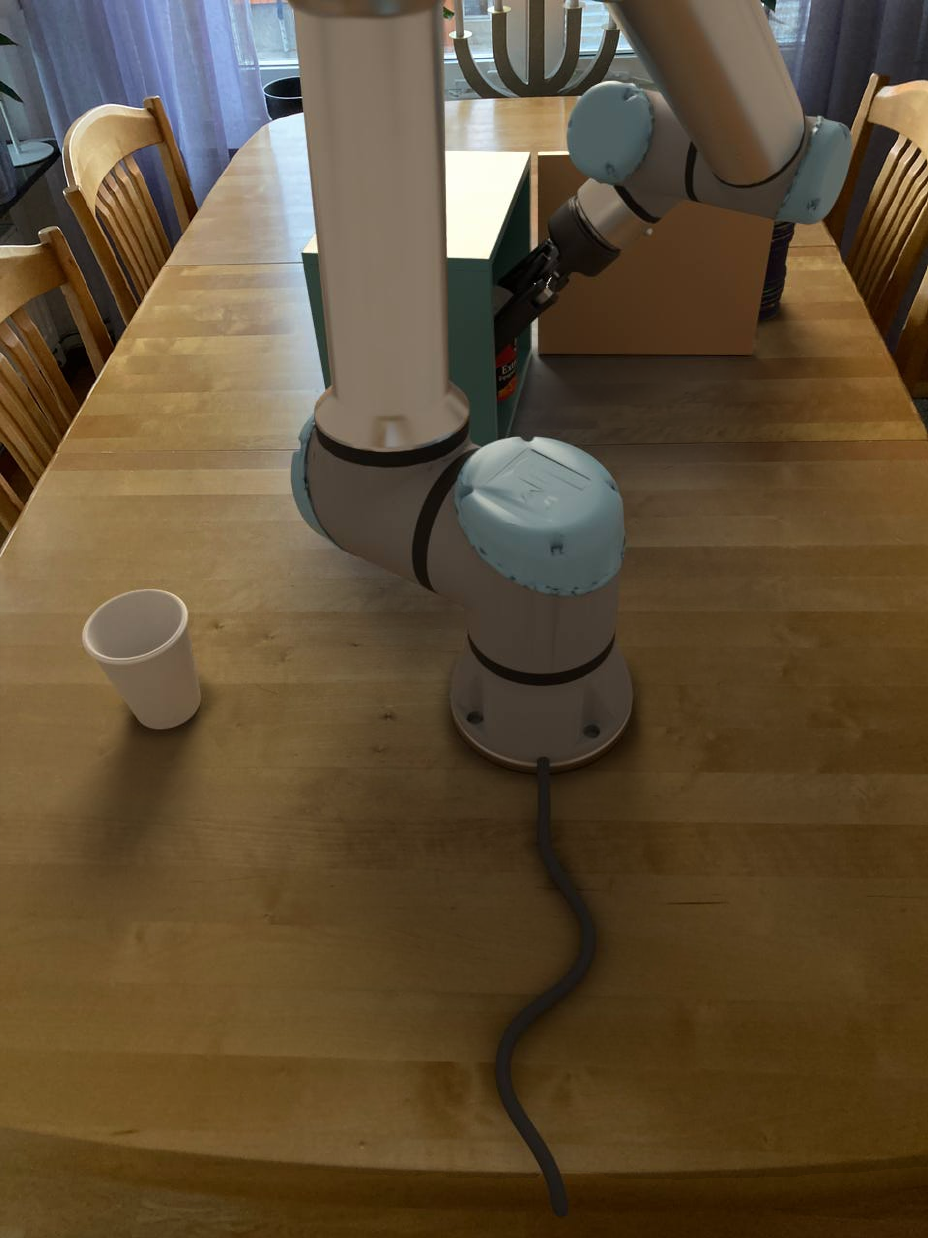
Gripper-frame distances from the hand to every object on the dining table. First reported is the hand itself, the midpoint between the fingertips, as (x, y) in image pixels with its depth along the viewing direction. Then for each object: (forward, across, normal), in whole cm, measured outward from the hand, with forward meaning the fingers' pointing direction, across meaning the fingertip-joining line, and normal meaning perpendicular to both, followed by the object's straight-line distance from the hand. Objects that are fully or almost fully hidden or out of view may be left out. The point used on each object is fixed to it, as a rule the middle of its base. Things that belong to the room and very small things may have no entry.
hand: (452, 358), depth 111 cm
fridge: (+6, 0, -3) cm, 6 cm away
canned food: (0, 0, -5) cm, 5 cm away
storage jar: (-19, +28, -28) cm, 44 cm away
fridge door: (-10, +17, -19) cm, 28 cm away
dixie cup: (+15, -49, +6) cm, 52 cm away
